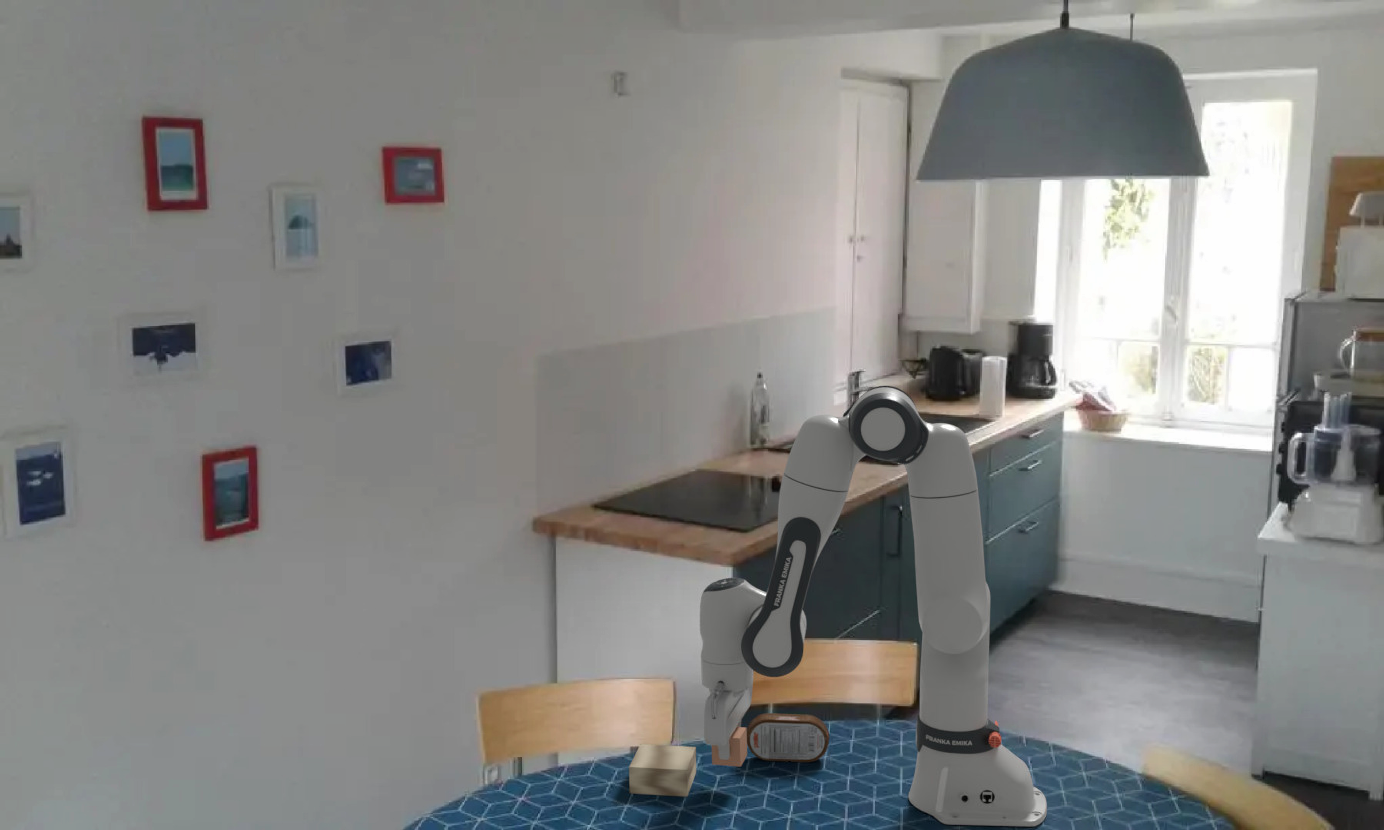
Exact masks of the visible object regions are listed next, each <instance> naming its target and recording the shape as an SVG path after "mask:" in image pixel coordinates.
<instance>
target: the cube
mask: <svg viewBox="0 0 1384 830" xmlns="http://www.w3.org/2000/svg"><path fill="white" fill-rule="evenodd" d="M729 745H730V747H731V756H730V757H729V759H728V760H724V759H720V758H719V749H718V746H717V745H711V763H712V765H713V766H716V765H717V766H727V767H729V766H730V767H738V768H739V767H742V765H743V763H744V762H745V760H746V757H747V756H748V745H747V727H742V726H741V727H736V729H735V730H734V732H733V733H732V735H731V737H730V740H729Z"/></svg>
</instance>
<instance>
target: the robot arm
mask: <svg viewBox="0 0 1384 830" xmlns="http://www.w3.org/2000/svg"><path fill="white" fill-rule="evenodd" d="M790 449H791V450H790V452H789V454H788V458H787V461H786V464H785V467H784V471H783V473H782V474H783V475H782V479H781V483H780V489H779V495H778V496H779V497H778V506H777V507H778V509H777V541H776V542H777V543H776V552H775V559H774V564H773V568H772V571H771V575H770V578H769V583H768V586H767V589H766V591H763V590H761V589H759V588H757V587H755V586H754V585H752V584H751V583H749V582H748V581H747V580H746V579H744V578H741V577H728V578H722V579H718V580H716V581H713V582H711V583H710V584H709V585H708V586H706V587H705V589H704V590H703V592H702V594H701V597H700V606H699V634H700V638H701V640H702V647H701V652H700V668H701V671H700V672H701V685H702V686H703V687H705V688H707V689H708V690H709V691H708V692H709V695H708V696H707V698H706V700H705V703H704V708H703V709H704V711H703V737H704V738H703V739H704V742H705V744H706V745H707V746H708V745H709V746H712V745H717V746H718V749H719V758H720V759H724V760H728V759H729V757H730V756H731V747H730V745H729V740H730V737H731V735H732V733H733V732H734V730H735V729H736V727H742V721H743V720H742V719H743V718H744V716H745V715H746V713H747V711H748V710H749V708H750V706H751V703H752V699H753V685H754V684H753V683H754V672H755V673H757V674H759V675H761V676H764V677H769V678H780V677H784V676H786V675H790V674H791V673H792V672H793V671H795V669H797V667H798V666H799V665H800V663H801V661H802V659H803V657H804V646H805V645H804V643H805V637H806V632H807V624H808V623H807V621H808V620H807V616H806V613H805V611H804V609H803V608H804V605H805V601H806V599H807V598H806V597H807V595H808V594H807V592H808V590H809V586H810V582H811V578H812V574H813V571H814V569H815V566H816V563H817V561H818V558H819V557H820V555H821V552H822V550H823V549H824V547H825V545H826V543H827V541H828V540H829V537H831V534H832V532H833V531H834V528H835V526H836V524H837V522H838V520H839V518H840V515H841V514H842V511H843V508H844V505H845V504H846V501H847V498H848V497H847V496H848V494H849V490H850V486H851V481H852V478H853V475H854V471H855V469H856V466H857V465H858V463H859V461H861V460H862V458H864V457H865V456H868V457H870V458H873V459H876V460H879V461H885V462H886V461H887V462H891V463H896V464H900V465H904V468H905V471H906V475H907V484H908V495H909V504H910V513H911V514H910V515H911V522H912V523H911V524H912V525H911V526H912V533H913V541H914V542H913V543H914V544H913V545H914V566H915V567H914V568H915V584H916V587H915V588H916V597H917V602H916V603H917V612H918V613H917V614H918V622H919V626H920V630H921V632H922V637H921V638H922V639H921V654H920V655H921V657H920V668H919V669H920V670H919V671H920V672H919V673H920V675H919V677H920V680H919V714H918V715H917V719H916V723H915V745H916V751H917V753H916V754H917V756H916V764H915V769H914V775H913V779H912V783H911V786H910V790H909V792H908V800H909V802H910V803H911V804H912V805H913V806H914V807H915V808H916V809H918V810H919V811H921V812H923V813H927V815H930V816H933V817H934V818H935V819H936V820H938V822H940V823H941V824H944V825H953V826H954V825H957V826H959V825H961V826H965V825H966V826H992V827H993V826H995V827H997V826H998V827H1000V826H1002V827H1037V826H1039V825H1040V824H1041V823H1043V822H1044V821H1045V819H1046V817H1047V813H1048V804H1047V798H1046V796H1045V795H1044V793H1043V792H1042V791H1041V790H1040V788H1039V789H1038V788H1037V787H1035V786H1034V784H1033V778H1032V775H1031V772H1030V769H1029V767H1028V765H1027V764H1026V763H1025V761H1023V760H1022V759H1021V758H1019V757H1018V756H1017V755H1015V754H1014V753H1013V752H1011V751H1010V750H1009V749H1008V748H1007V747H1005V746H1004V745H1003V744H1002V736H1001V733H1000V731H1001V730H1000V727H999V722H998V721H997V720H994V722H993V721H992V720H990V718H988V702H989V701H988V695H989V664H990V663H989V662H990V661H989V660H990V659H989V657H990V631H991V629H990V628H991V627H990V625H991V623H990V621H991V592H990V588H989V585H988V583H987V579H986V566H985V554H984V553H985V551H984V536H983V525H982V517H981V507H980V498H979V486H978V478H977V471H976V467H975V462H974V457H973V453H972V450H971V447H970V443H969V440H968V438H967V435H966V433H965V432H964V431H963V430H962V429H961V428H959V427H957V426H955V425H953V424H950V423H945V422H938V423H937V422H936V423H930V422H927V421H925V420H924V419H923V418H922V417H921V416H920V413H919V411H918V410H917V406H916V405H915V403H914V400H913V399H912V397H911V396H910V395H909V394H908V393H907V392H905V391H904V390H902V389H900V388H898V387H896V386H893V385H880V386H876V387H873V388H871V389H869V390H867V391H865V392H864V393H862V395H861V396H860V397H858V398H857V400H856V401H855V402H853V404H852V405H850V407H849V408H848V409H847V410H845V412H844V413H843V415H842V416H835V415H834V416H833V415H830V414H829V415H828V414H819V415H815V416H811V417H810V418H808V419H806V420H805V421H804V422H803V423H802V425H801V427H800V429H799V430H798V433H797V434H796V438H795V439H794V441H793V444H792V447H791V448H790Z"/></svg>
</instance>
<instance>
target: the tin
mask: <svg viewBox="0 0 1384 830" xmlns="http://www.w3.org/2000/svg"><path fill="white" fill-rule="evenodd" d="M746 729H747V748H748V749H749V751H750V752H751V753H752V755H754V756H755V757H756V758H758V759H760V760H763V761H767V762H788V761H791V763H793V762H795V763H796V762H797V763H812V762H816V761H818V760H820V759H821V758H822V757H823V756H824V755H825V753H826V752H827V750H828V747H829V743H830V731H829V728H828V726H827V725H826V724H825V722H824V721H823V720H821V718H818V717H816V716H814V715H811V714H798V713H797V714H796V713H795V714H794V713H793V714H792V713H790V714H789V713H774V712H773V713H770V712H767V713H762V714H758V715H757V716H755V717H754V718H753V719H751V721H750V722H749V724H748V725H747V727H746Z"/></svg>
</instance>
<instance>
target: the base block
mask: <svg viewBox="0 0 1384 830" xmlns="http://www.w3.org/2000/svg"><path fill="white" fill-rule="evenodd" d="M632 758H633V759H632V761H631V762H630V764H629V766H628V768H629V770H628V772H629V773H628V776H629V778H628V780H629V794H636V795H637V794H638V795H654V796H655V795H656V796H668V797H669V796H670V797H688V796H689V792H690V790H691V788H692V785H693V782H694V779H695V776H696V774H697V747H696V746H681V745H664V744H663V745H662V744H660V745H659V744H639V746H638V748H637V750H636V753H635V754H634V757H632Z"/></svg>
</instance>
